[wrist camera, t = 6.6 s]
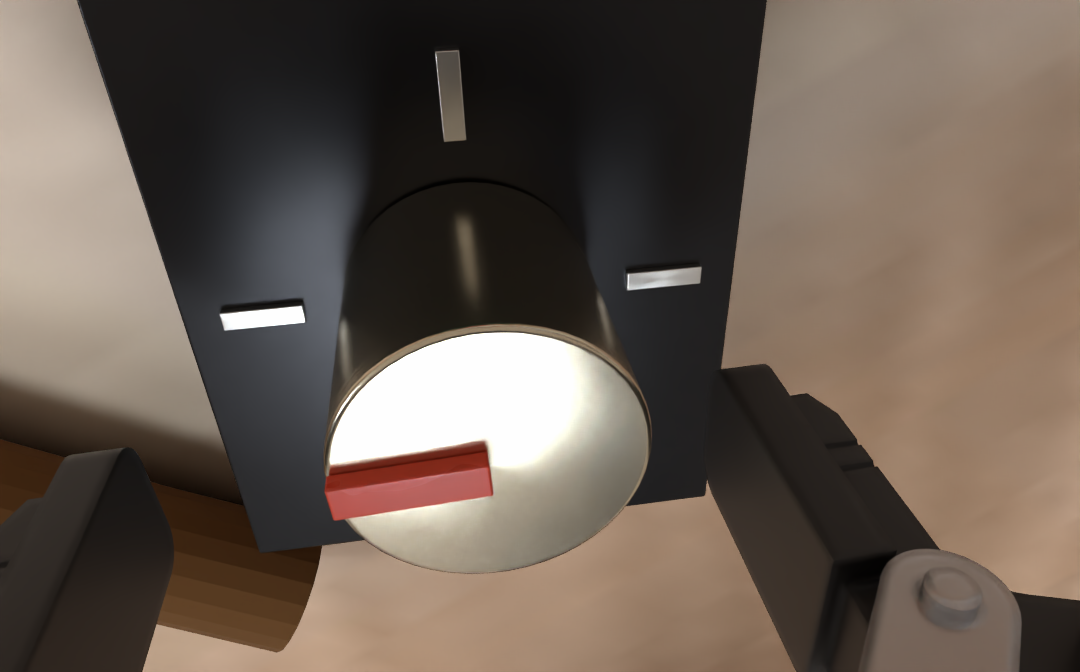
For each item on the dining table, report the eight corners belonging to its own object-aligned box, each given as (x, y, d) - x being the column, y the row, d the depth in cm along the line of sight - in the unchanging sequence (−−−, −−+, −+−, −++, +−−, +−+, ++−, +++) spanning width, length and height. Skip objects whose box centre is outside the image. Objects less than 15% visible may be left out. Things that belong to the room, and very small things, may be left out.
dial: (583, 164, 13) (662, 315, 9) (592, 374, 16) (658, 565, 12) (317, 198, 13) (281, 369, 9) (369, 407, 15) (359, 615, 11)
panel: (669, 414, 21) (707, 501, 18) (277, 460, 20) (258, 560, 17) (712, -112, 14) (784, -94, 11) (121, -86, 13) (50, -59, 10)
